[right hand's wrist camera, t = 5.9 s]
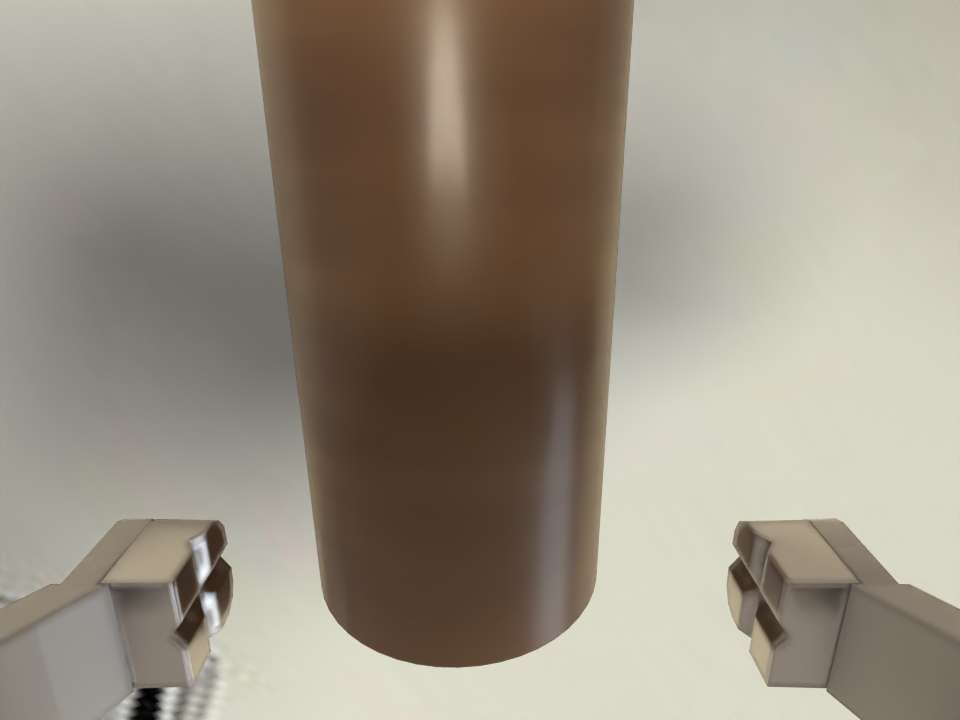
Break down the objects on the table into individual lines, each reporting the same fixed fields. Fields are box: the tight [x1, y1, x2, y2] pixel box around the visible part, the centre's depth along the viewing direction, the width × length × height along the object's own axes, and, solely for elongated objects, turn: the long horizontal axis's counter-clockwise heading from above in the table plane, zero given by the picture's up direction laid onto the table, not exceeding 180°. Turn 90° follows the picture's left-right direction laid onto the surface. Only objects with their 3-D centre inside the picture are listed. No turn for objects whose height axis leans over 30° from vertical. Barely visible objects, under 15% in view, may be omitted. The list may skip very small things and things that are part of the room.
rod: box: [251, 0, 634, 668], centre depth 11 cm, size 22×6×6 cm, turn 1°
